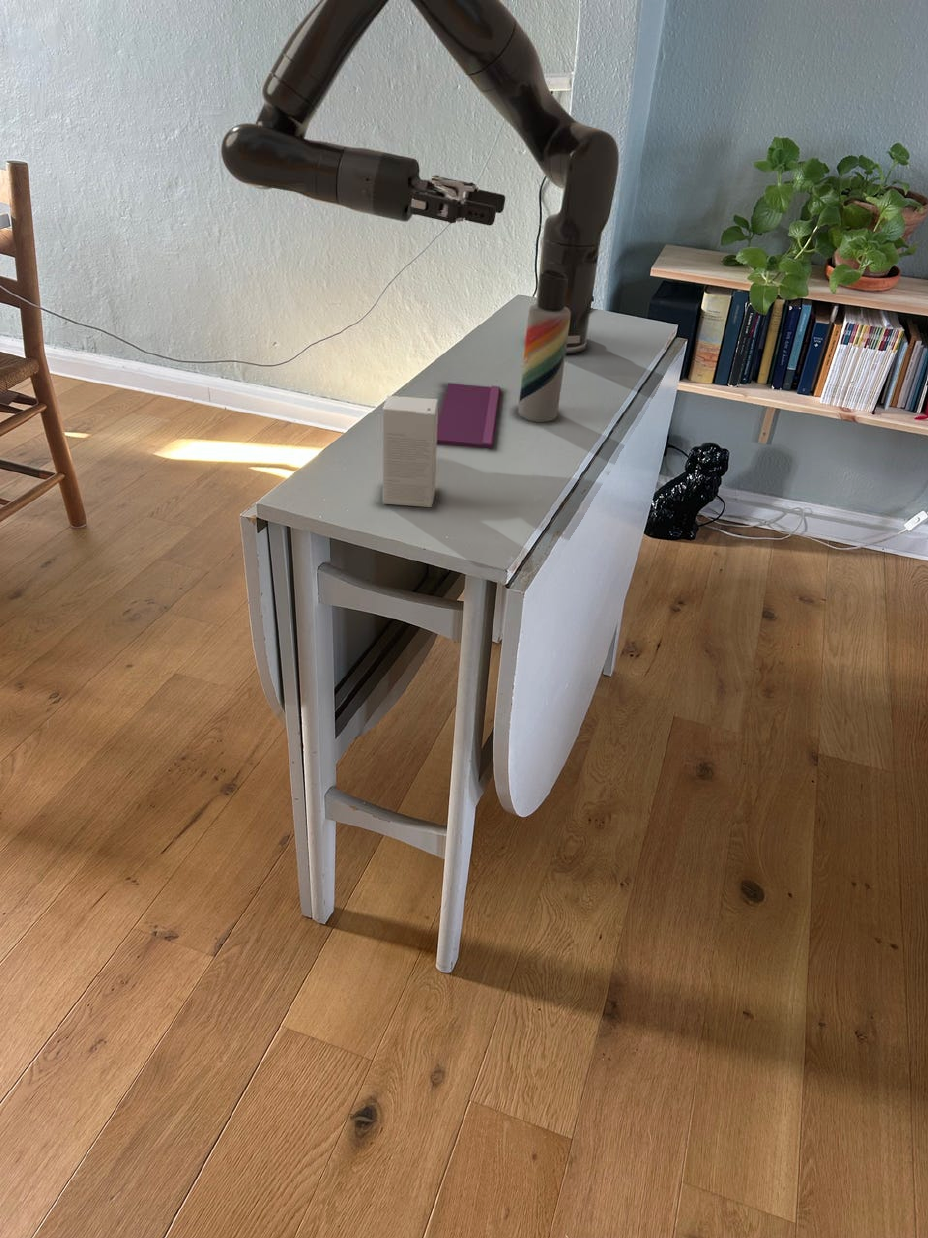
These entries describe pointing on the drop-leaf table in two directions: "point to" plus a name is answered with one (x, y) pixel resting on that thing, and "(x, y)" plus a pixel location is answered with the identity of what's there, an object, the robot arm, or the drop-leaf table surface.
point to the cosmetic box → (409, 450)
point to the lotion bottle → (545, 349)
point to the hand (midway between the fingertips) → (499, 210)
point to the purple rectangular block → (468, 415)
